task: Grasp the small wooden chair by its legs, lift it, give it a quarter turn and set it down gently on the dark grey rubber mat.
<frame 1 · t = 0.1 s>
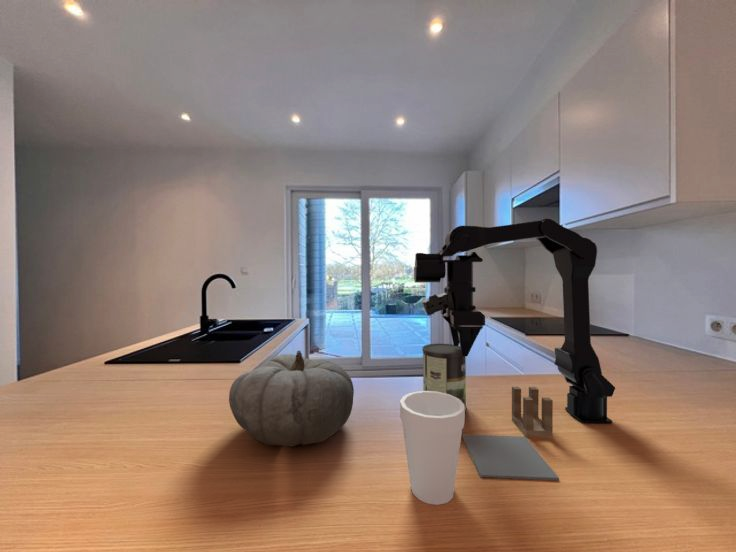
hand: (460, 350, 70), 15 cm above the counter, fingers open, 9 cm apart
foam cup: (432, 490, 46), on the counter
coffee can: (444, 406, 74), on the counter
gourd: (294, 430, 64), on the counter
mat: (504, 455, 54), on the counter
wooden chair: (530, 429, 63), on the counter
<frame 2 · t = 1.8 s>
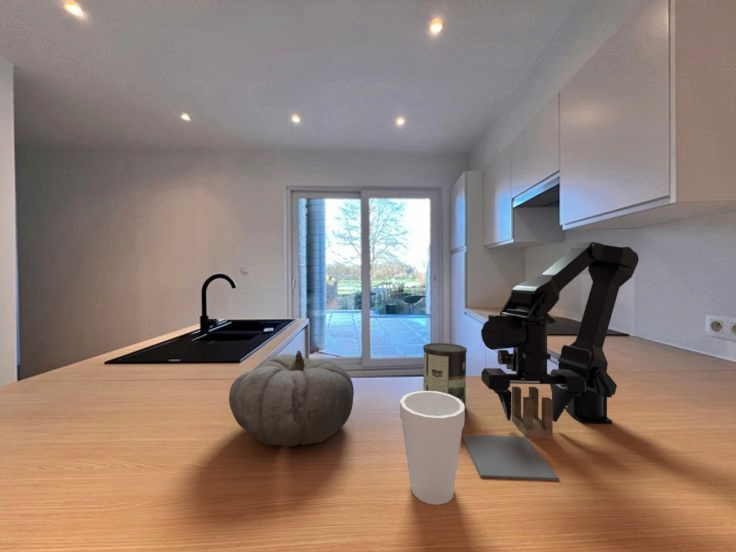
hand: (531, 420, 63), 2 cm above the counter, fingers open, 9 cm apart
nothing on the counter moved.
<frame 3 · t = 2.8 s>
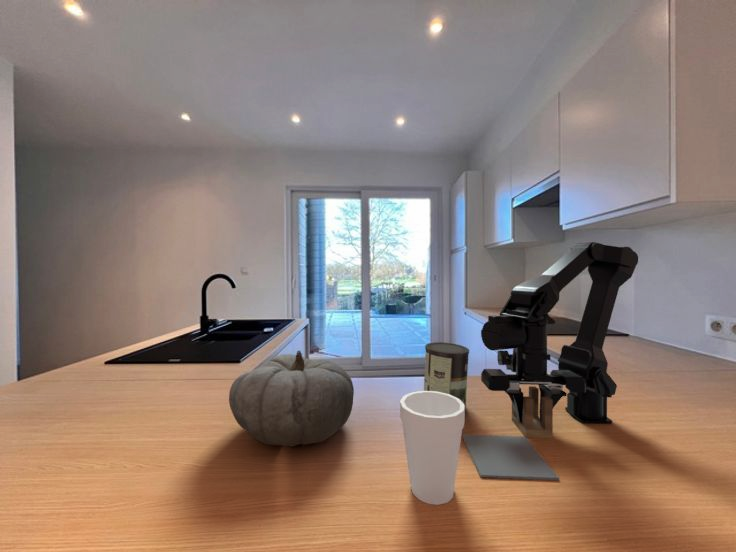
hand: (530, 421, 63), 2 cm above the counter, fingers closed on wooden chair, 4 cm apart
wooden chair: (530, 428, 63), on the counter, touching gripper
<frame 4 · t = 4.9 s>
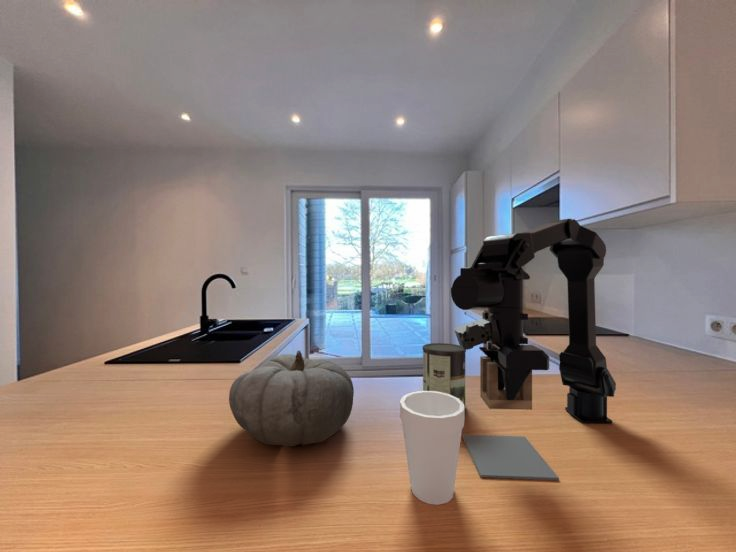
hand: (504, 394, 54), 11 cm above the counter, fingers closed on wooden chair, 4 cm apart
wooden chair: (504, 402, 54), point 9 cm above the counter, touching gripper
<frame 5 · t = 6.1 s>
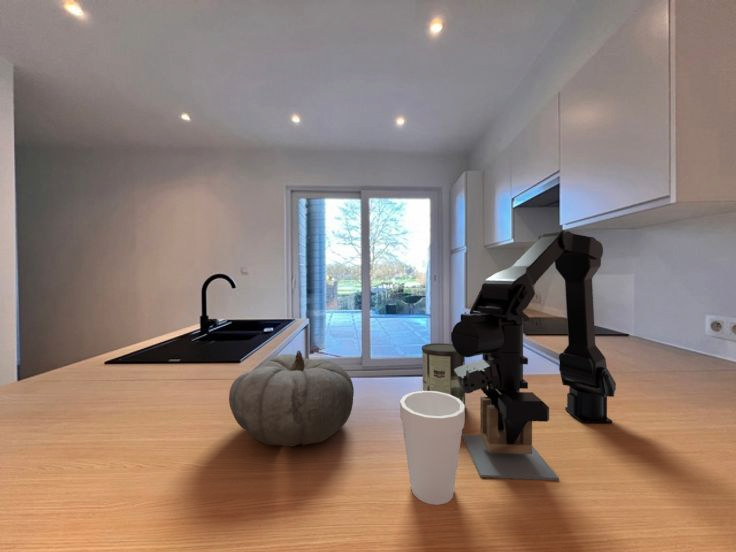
hand: (505, 436, 54), 3 cm above the counter, fingers closed on wooden chair, 4 cm apart
wooden chair: (504, 445, 54), point 2 cm above the counter, touching gripper
everything else where it was.
when the fingers open (3 cm above the counter, at t = 7.0 s): wooden chair stays where it is, resting on mat.
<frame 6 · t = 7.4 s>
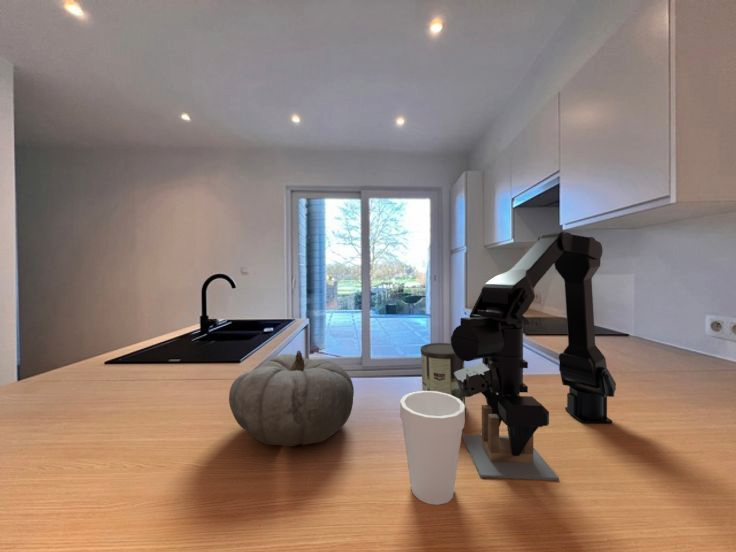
hand: (504, 440, 54), 3 cm above the counter, fingers open, 9 cm apart
wooden chair: (506, 453, 54), resting on mat
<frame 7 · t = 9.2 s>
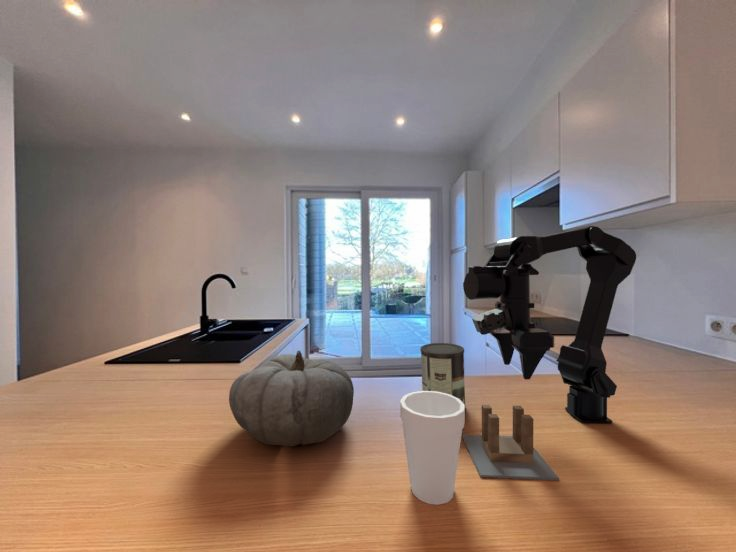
hand: (516, 371, 64), 12 cm above the counter, fingers open, 9 cm apart
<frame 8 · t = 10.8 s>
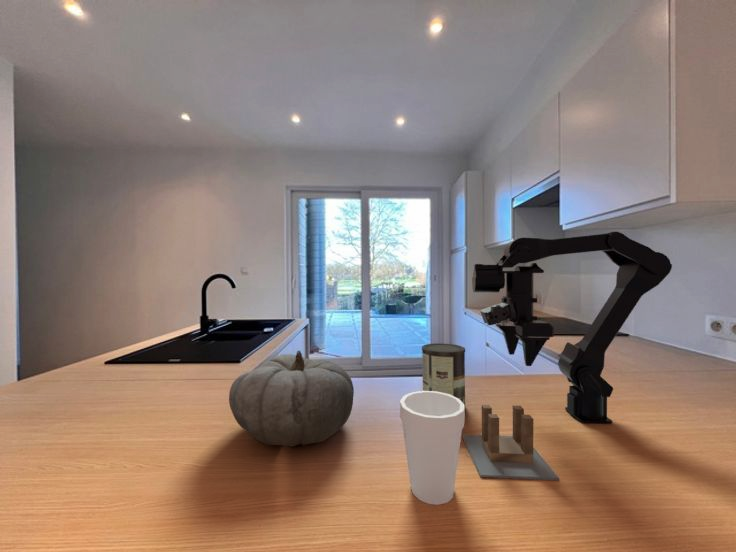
hand: (519, 359, 71), 12 cm above the counter, fingers open, 9 cm apart
at the end: wooden chair inside the target area on the mat (0.3 cm from its centre), point 0.4 cm above the mat's base; wooden chair tilted 0°; the gripper is holding nothing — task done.
